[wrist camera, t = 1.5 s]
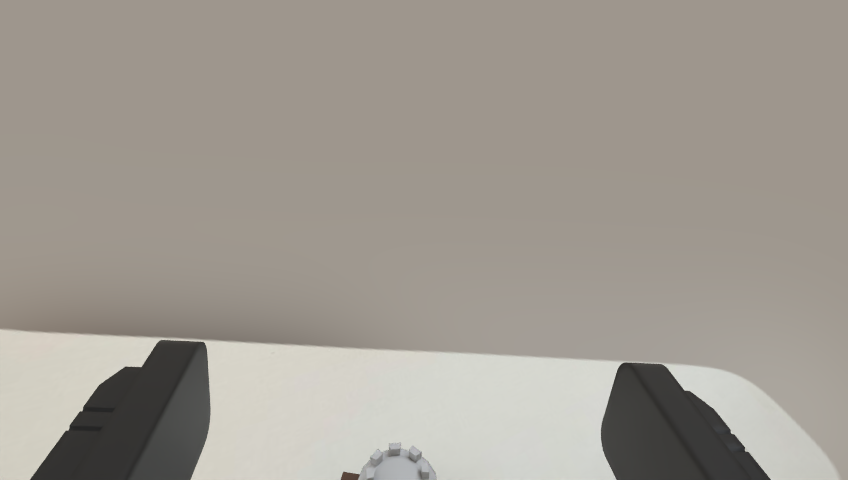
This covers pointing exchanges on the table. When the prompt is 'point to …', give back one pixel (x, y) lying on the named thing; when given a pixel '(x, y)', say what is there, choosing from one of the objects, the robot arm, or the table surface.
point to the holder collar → (349, 476)
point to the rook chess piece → (397, 465)
